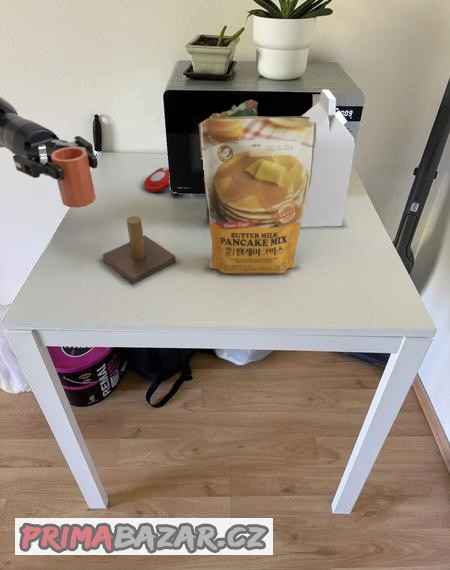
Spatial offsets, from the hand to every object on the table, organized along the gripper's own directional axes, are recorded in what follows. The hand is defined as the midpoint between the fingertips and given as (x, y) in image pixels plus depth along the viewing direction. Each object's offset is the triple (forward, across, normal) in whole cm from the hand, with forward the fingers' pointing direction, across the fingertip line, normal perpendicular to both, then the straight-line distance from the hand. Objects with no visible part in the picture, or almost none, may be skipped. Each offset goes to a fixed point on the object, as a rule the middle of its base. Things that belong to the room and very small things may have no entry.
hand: (78, 168), depth 78 cm
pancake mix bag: (+26, +18, +18) cm, 36 cm away
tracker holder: (-10, +27, +18) cm, 34 cm away
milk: (+22, +43, +18) cm, 51 cm away
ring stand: (+9, +4, +18) cm, 20 cm away
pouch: (+11, +28, +18) cm, 35 cm away
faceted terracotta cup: (-2, 0, +7) cm, 7 cm away
